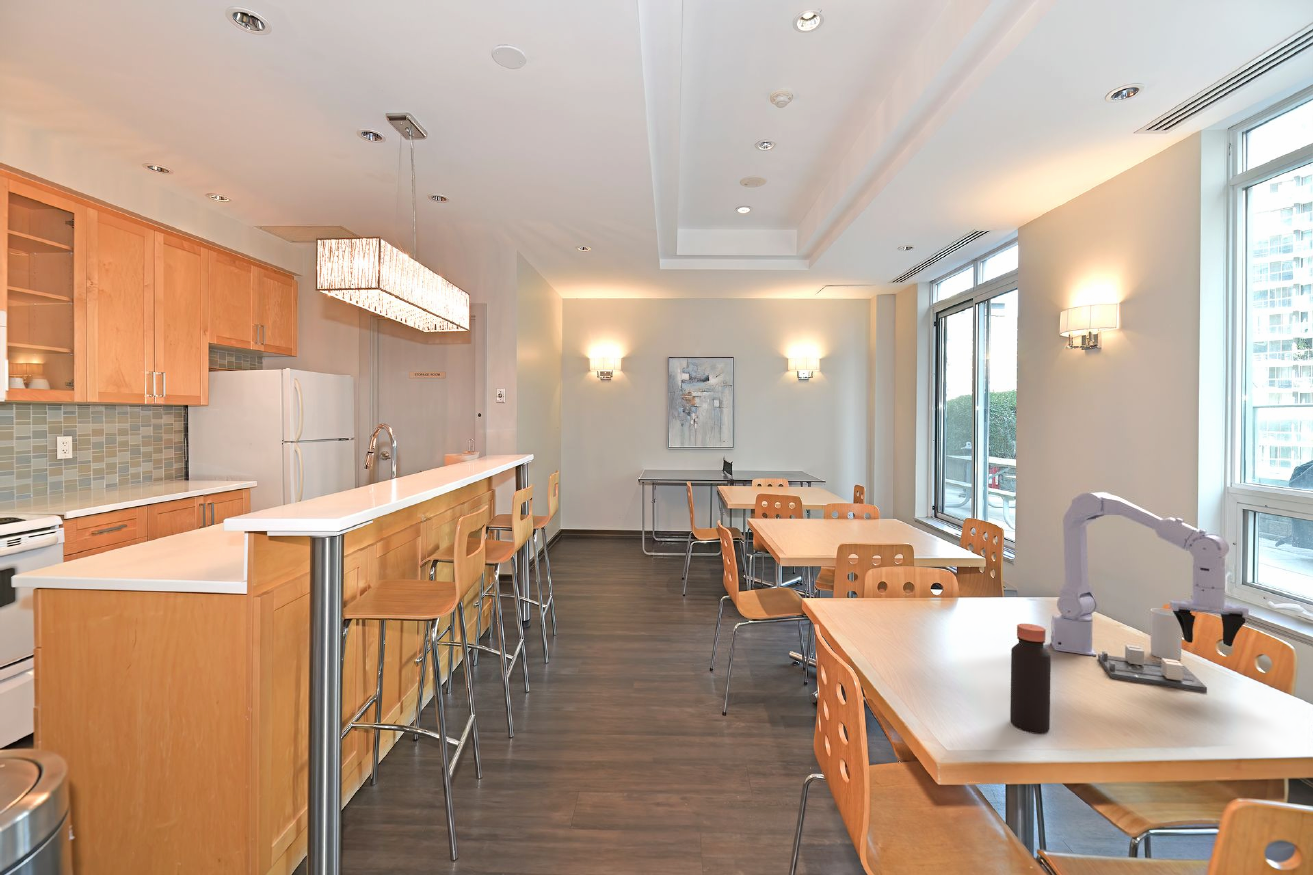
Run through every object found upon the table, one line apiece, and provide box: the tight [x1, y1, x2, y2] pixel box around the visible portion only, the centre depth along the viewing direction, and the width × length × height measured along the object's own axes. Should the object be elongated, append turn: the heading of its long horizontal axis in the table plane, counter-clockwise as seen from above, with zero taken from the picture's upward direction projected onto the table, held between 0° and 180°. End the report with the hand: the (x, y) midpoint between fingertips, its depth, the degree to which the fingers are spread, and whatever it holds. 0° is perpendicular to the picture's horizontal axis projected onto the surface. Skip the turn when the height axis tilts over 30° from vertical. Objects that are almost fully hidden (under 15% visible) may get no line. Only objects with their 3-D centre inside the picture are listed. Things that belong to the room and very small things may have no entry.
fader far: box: [1124, 644, 1145, 665], centre depth 157 cm, size 3×4×4 cm
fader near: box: [1161, 658, 1184, 681], centre depth 147 cm, size 3×4×4 cm
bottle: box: [1009, 623, 1052, 734], centre depth 124 cm, size 7×7×20 cm
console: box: [1097, 650, 1208, 694], centre depth 152 cm, size 18×15×3 cm
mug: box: [1149, 608, 1183, 661], centre depth 167 cm, size 10×7×12 cm, turn 154°
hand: (1207, 643), depth 146 cm, fingers open, 7 cm apart
